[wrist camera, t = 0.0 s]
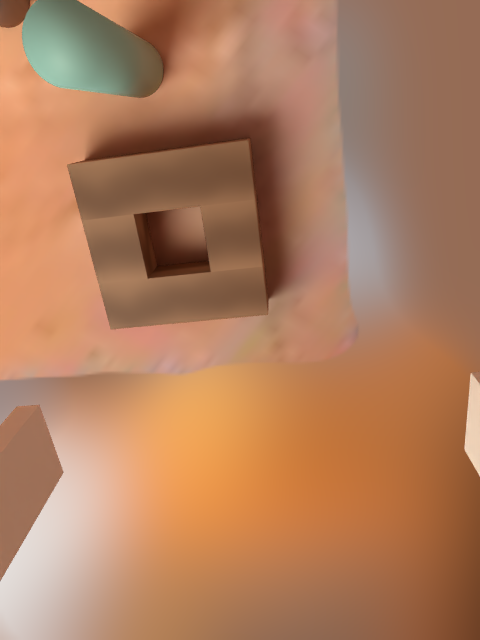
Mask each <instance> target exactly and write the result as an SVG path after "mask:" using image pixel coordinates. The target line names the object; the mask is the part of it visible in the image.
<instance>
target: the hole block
mask: <svg viewBox="0 0 480 640" xmlns="http://www.w3.org/2000/svg"><path fill="white" fill-rule="evenodd" d="M67 167H68V171H69V174H70V178H71V182H72V186H73V189H74V193H75V197H76V201H77V204H78V208H79V212H80V216H81V219H82V223H83V227H84V231H85V234H86V238H87V242H88V246H89V249H90V253H91V257H92V261H93V264H94V268H95V272H96V276H97V280H98V283H99V287H100V291H101V295H102V298H103V302H104V306H105V310H106V313H107V317H108V321H109V325H110V328H111V329H121V328H131V327H142V326H153V325H163V324H174V323H185V322H195V321H206V320H217V319H227V318H238V317H249V316H259V315H268V291H267V283H266V274H265V265H264V256H263V247H262V238H261V229H260V220H259V211H258V202H257V193H256V184H255V176H254V167H253V158H252V149H251V140H250V138H246V139H238V140H231V141H224V142H216V143H209V144H202V145H194V146H187V147H180V148H172V149H165V150H158V151H150V152H143V153H136V154H128V155H121V156H114V157H107V158H99V159H92V160H85V161H80V162H76V163H72V164H68V165H67ZM198 206H200V208H201V214H202V220H203V226H204V233H205V239H206V245H207V251H208V257H209V261H200V262H191V263H182V264H172V265H163V266H157V263H156V258H155V254H154V249H153V244H152V239H151V235H150V230H149V225H148V220H147V215H146V213H148V212H157V211H165V210H173V209H181V208H189V207H198Z"/></svg>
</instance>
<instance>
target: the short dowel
mask: <svg viewBox="0 0 480 640" xmlns="http://www.w3.org/2000/svg"><path fill="white" fill-rule="evenodd" d="M29 4H30V0H0V26H1V27H6V28H10V27H15V26H17V25H19V24H20V23H21V22H22V21H23V20H24V19H25V16H26V14H27V12H28V10H29Z"/></svg>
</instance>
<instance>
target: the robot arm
mask: <svg viewBox="0 0 480 640" xmlns="http://www.w3.org/2000/svg"><path fill="white" fill-rule="evenodd" d="M465 451H466V453H467V455H468V456H469V458H470V460H471V461H472V463H473V465H474V467H475V468H476V470H477V472H478V474H479V475H480V372H474V373H471V378H470V390H469V402H468V413H467V426H466V437H465ZM62 474H63V470H62V467H61V464H60V461H59V458H58V456H57V453H56V450H55V447H54V444H53V442H52V439H51V436H50V433H49V430H48V428H47V425H46V422H45V419H44V417H43V414H42V411H41V408H40V405H31V406H19V407H16V408H15V409H14V410H13V412H12V413H11V414H10V415H9V416H8V417H7V418H6V419H5V421H4V422H3V423H2V424H1V425H0V581H1V579H2V577H3V576H4V574H5V572H6V570H7V568H8V567H9V565H10V563H11V561H12V560H13V558H14V557H15V555H16V553H17V551H18V550H19V548H20V546H21V545H22V543H23V541H24V539H25V538H26V536H27V534H28V533H29V531H30V529H31V527H32V526H33V524H34V522H35V521H36V519H37V517H38V515H39V514H40V512H41V510H42V508H43V507H44V505H45V503H46V501H47V500H48V498H49V496H50V495H51V493H52V491H53V490H54V488H55V486H56V484H57V483H58V481H59V479H60V478H61V476H62Z"/></svg>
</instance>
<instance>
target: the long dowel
mask: <svg viewBox="0 0 480 640" xmlns="http://www.w3.org/2000/svg"><path fill="white" fill-rule="evenodd" d="M22 40H23V46H24V50H25V53H26V56H27V58H28V61H29V62H30V64H31V66H32V67H33V69H34V70H35V71H36V72H37V73H38V75H39V76H40V77H42V78H43V79H44V80H45V81H47V82H48V83H50V84H52V85H54V86H57V87H61V88H67V89H74V90H82V91H90V92H98V93H106V94H114V95H122V96H129V97H138V98H143V97H147V96H150V95H151V94H153V93H154V92H155V91H156V90H157V89H158V88H159V86H160V84H161V82H162V79H163V73H164V69H163V62H162V59H161V57H160V54H159V53H158V51H157V50H156V49H155V47H154V46H153V45H151V44H150V43H149V42H147V41H145V40H143V39H142V38H140V37H138V36H137V35H135V34H133V33H132V32H130V31H128V30H126V29H125V28H123V27H121V26H120V25H118V24H116V23H114V22H113V21H111V20H109V19H108V18H106V17H104V16H102V15H101V14H99V13H97V12H96V11H94V10H92V9H91V8H89V7H87V6H85V5H84V4H82V3H80V2H79V1H77V0H37V1H36V2H35V3H34V4H33V5H32V6H31V7H30V9H29V10H28V12H27V14H26V16H25V19H24V22H23V28H22Z"/></svg>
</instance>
